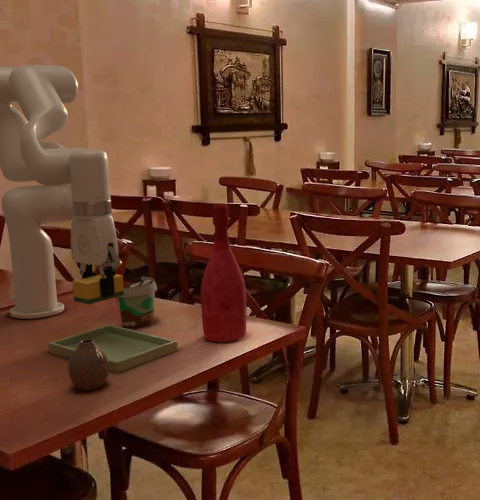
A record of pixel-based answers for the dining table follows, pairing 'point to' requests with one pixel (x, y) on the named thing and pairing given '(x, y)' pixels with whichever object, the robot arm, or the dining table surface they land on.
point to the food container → (138, 304)
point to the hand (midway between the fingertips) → (99, 293)
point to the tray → (118, 346)
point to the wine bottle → (223, 287)
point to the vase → (88, 366)
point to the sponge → (94, 289)
